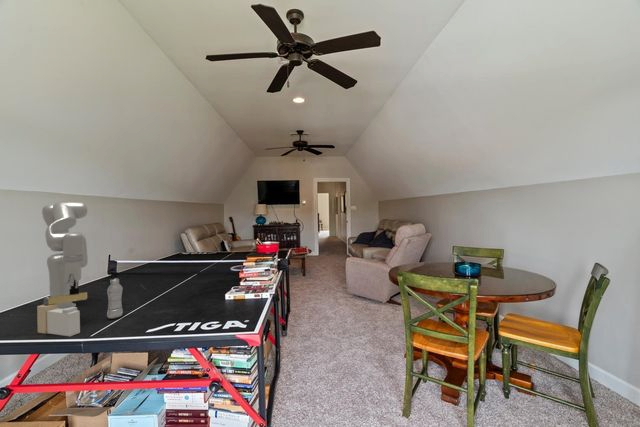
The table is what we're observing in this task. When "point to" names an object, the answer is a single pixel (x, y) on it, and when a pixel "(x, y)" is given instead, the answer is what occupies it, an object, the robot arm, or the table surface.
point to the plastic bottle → (114, 299)
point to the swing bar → (65, 298)
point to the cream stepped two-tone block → (58, 320)
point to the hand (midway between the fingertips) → (74, 296)
